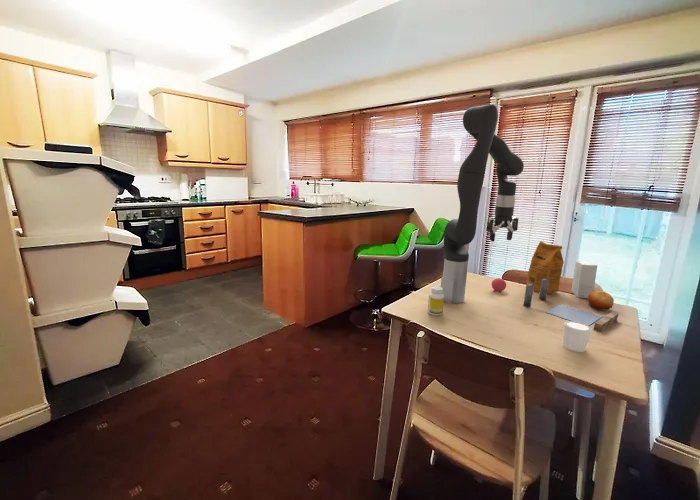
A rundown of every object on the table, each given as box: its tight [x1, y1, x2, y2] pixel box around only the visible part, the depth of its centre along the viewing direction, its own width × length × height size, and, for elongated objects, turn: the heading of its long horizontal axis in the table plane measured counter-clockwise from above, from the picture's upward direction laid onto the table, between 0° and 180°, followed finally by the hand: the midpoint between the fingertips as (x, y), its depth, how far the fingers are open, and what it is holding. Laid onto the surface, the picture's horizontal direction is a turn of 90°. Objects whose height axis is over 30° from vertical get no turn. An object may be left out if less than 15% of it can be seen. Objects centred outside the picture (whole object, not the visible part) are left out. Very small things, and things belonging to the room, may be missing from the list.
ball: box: [491, 277, 507, 292], centre depth 144 cm, size 6×6×6 cm
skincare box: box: [570, 260, 598, 299], centre depth 140 cm, size 8×6×15 cm
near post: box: [522, 283, 534, 308], centre depth 127 cm, size 3×3×9 cm
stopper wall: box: [593, 311, 619, 332], centre depth 113 cm, size 16×2×2 cm, turn 126°
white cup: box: [562, 320, 593, 353], centre depth 97 cm, size 7×7×7 cm
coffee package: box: [526, 240, 564, 295], centre depth 145 cm, size 10×12×22 cm
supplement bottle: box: [427, 286, 445, 316], centre depth 119 cm, size 5×5×10 cm
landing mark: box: [544, 303, 603, 327], centre depth 121 cm, size 14×14×1 cm
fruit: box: [587, 290, 615, 311], centre depth 127 cm, size 8×8×8 cm
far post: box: [538, 278, 549, 302], centre depth 135 cm, size 3×3×9 cm
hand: (500, 240), depth 147 cm, fingers open, 8 cm apart
